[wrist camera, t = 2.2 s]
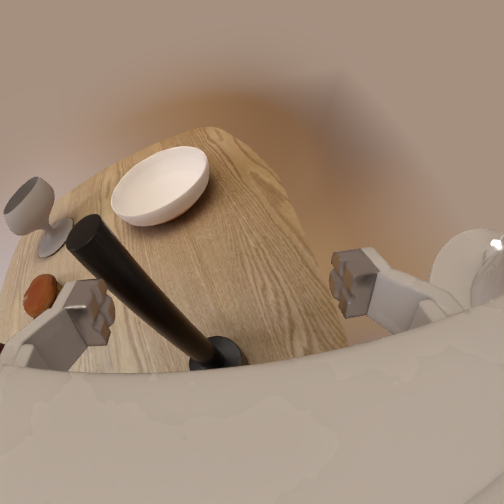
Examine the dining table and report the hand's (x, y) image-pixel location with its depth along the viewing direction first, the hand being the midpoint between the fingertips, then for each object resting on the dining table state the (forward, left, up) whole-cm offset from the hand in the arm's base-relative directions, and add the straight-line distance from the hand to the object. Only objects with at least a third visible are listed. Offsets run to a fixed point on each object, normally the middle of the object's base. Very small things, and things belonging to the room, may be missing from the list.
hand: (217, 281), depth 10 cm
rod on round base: (+7, -3, -23) cm, 25 cm away
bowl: (+21, -34, -23) cm, 46 cm away
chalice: (+53, -30, -23) cm, 66 cm away
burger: (+44, -12, -23) cm, 52 cm away
